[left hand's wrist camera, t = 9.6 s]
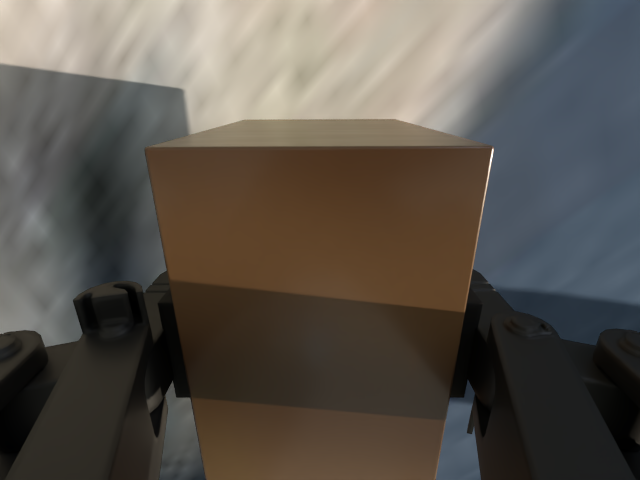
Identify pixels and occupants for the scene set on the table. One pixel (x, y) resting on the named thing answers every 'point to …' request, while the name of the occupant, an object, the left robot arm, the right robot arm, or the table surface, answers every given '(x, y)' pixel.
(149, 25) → the table surface
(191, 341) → the post
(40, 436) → the left robot arm
